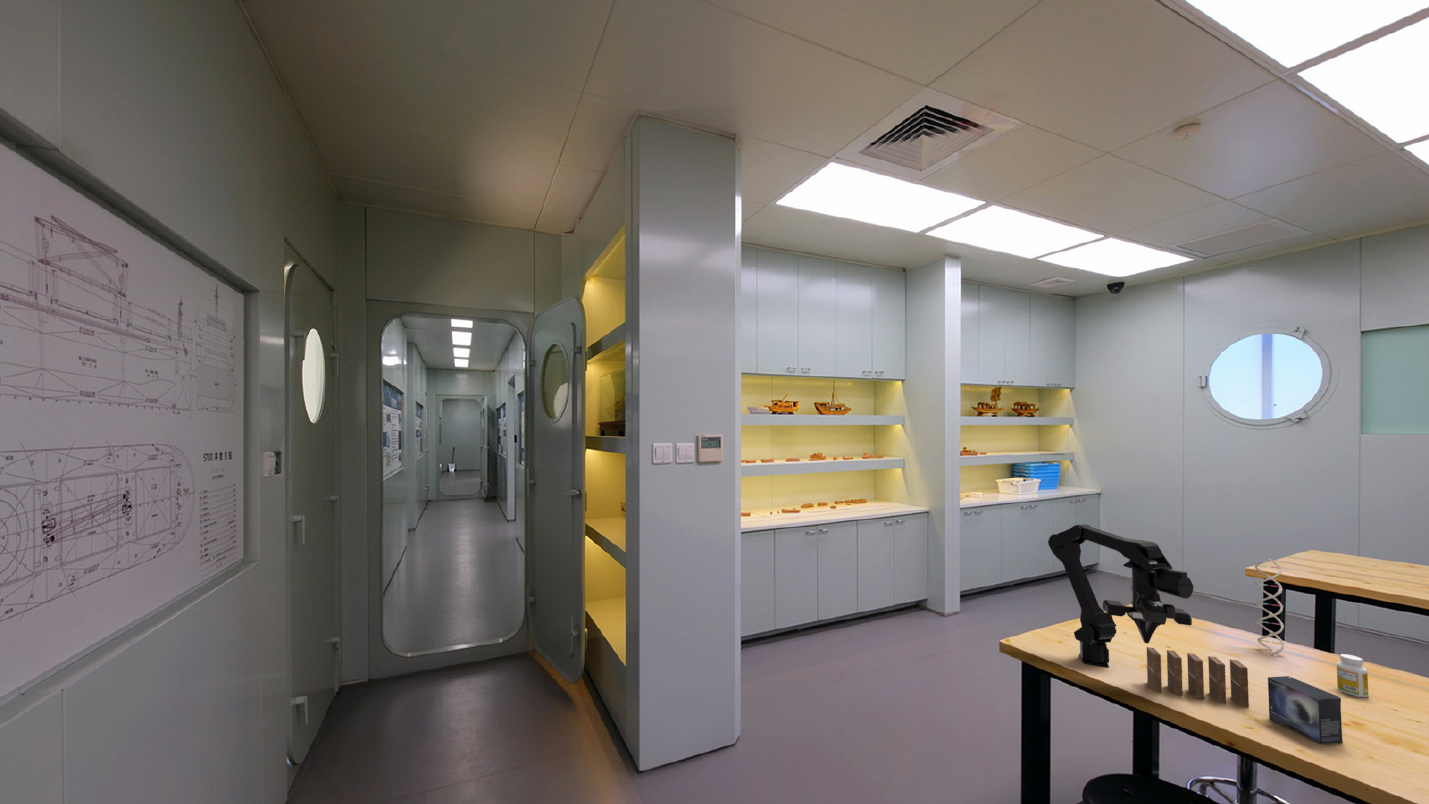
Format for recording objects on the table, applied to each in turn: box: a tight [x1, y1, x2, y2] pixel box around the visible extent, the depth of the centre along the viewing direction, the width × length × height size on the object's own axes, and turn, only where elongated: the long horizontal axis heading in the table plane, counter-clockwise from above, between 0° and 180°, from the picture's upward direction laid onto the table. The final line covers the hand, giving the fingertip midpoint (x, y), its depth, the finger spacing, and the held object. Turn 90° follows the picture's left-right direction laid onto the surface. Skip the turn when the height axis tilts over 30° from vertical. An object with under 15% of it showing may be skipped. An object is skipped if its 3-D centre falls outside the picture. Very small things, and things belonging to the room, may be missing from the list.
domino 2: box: [1166, 649, 1184, 697], centre depth 143 cm, size 2×5×10 cm, turn 156°
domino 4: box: [1207, 655, 1227, 704], centre depth 139 cm, size 2×5×10 cm, turn 156°
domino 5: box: [1229, 658, 1250, 708], centre depth 137 cm, size 2×5×10 cm, turn 156°
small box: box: [1267, 675, 1343, 745], centre depth 125 cm, size 11×6×10 cm, turn 5°
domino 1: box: [1146, 646, 1163, 693], centre depth 145 cm, size 2×5×10 cm, turn 157°
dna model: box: [1254, 557, 1285, 656], centre depth 169 cm, size 7×6×30 cm
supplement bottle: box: [1336, 653, 1369, 698], centre depth 143 cm, size 5×5×10 cm
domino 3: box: [1186, 652, 1205, 700], centre depth 141 cm, size 2×5×10 cm, turn 156°
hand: (1146, 642), depth 146 cm, fingers closed
